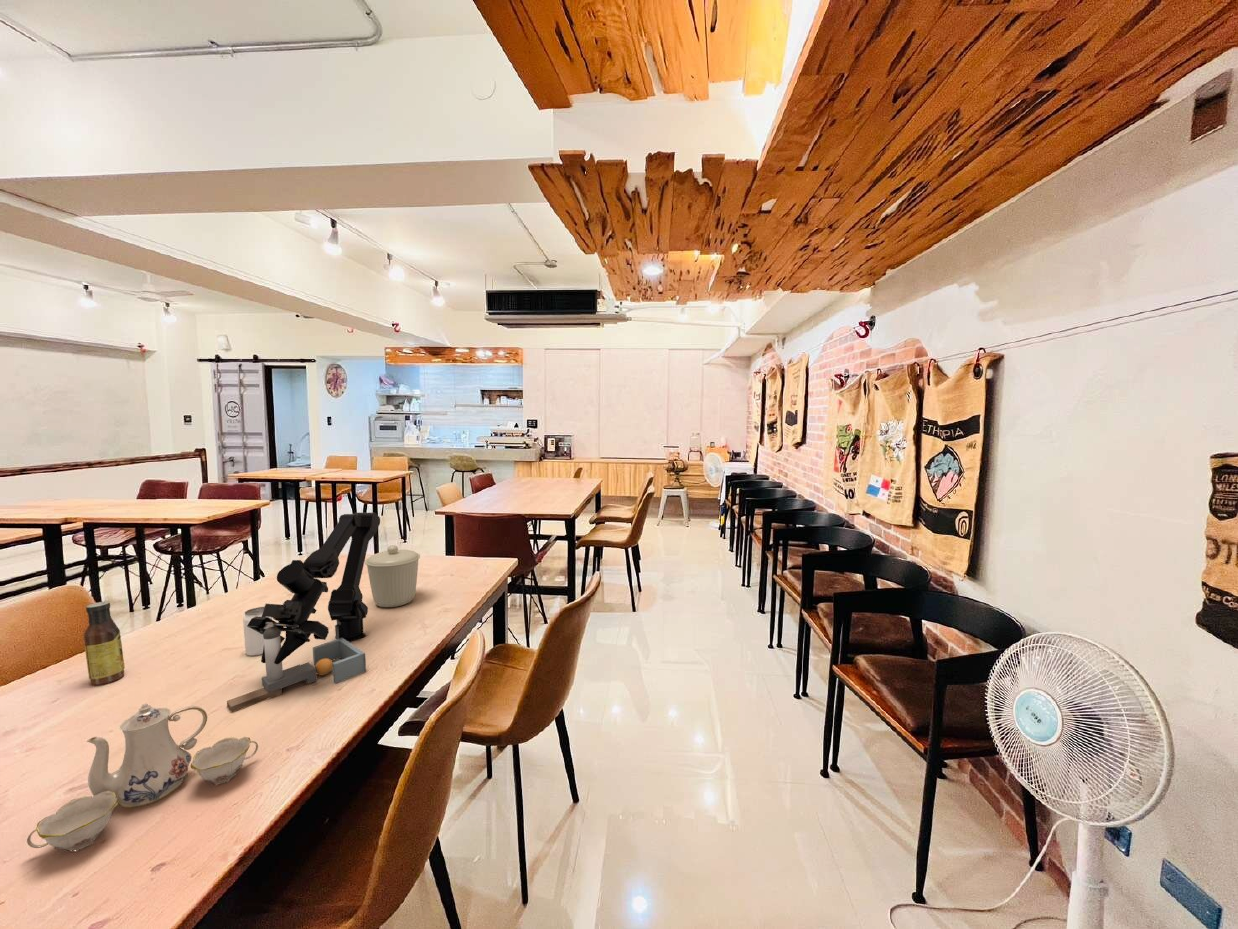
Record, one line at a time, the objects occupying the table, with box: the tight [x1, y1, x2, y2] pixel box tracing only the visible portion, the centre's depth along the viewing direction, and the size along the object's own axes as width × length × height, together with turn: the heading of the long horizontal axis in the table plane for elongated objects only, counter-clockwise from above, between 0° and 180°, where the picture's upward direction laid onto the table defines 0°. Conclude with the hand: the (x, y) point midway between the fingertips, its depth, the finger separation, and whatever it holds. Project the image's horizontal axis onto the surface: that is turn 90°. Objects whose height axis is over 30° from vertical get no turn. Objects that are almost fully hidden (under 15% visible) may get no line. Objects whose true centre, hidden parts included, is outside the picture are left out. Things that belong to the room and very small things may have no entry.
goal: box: [312, 638, 367, 684], centre depth 126 cm, size 7×14×5 cm, turn 51°
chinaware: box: [26, 702, 259, 853], centre depth 82 cm, size 28×17×17 cm, turn 147°
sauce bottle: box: [83, 601, 125, 686], centre depth 120 cm, size 6×6×20 cm
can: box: [242, 606, 273, 657], centre depth 135 cm, size 6×6×12 cm
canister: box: [364, 544, 421, 608], centre depth 171 cm, size 18×18×21 cm
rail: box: [226, 687, 283, 713], centre depth 112 cm, size 10×4×1 cm, turn 141°
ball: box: [314, 658, 334, 676], centre depth 124 cm, size 4×4×4 cm
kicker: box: [261, 627, 318, 693], centre depth 117 cm, size 10×5×16 cm, turn 141°
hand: (269, 663), depth 114 cm, fingers closed on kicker, 3 cm apart
